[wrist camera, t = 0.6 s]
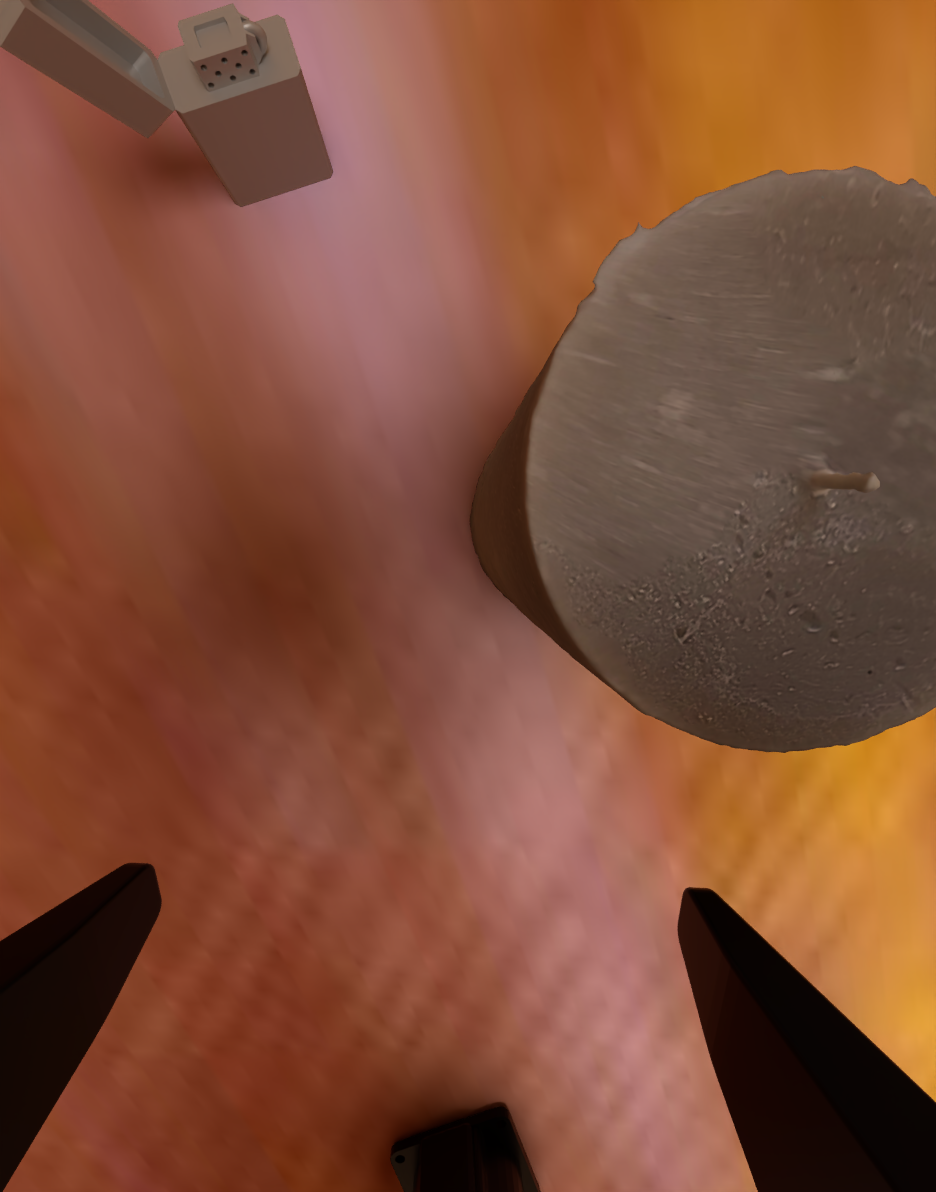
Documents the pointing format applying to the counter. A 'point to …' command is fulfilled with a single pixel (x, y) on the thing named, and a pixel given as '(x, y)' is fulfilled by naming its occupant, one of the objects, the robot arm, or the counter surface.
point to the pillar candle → (740, 466)
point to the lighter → (187, 86)
